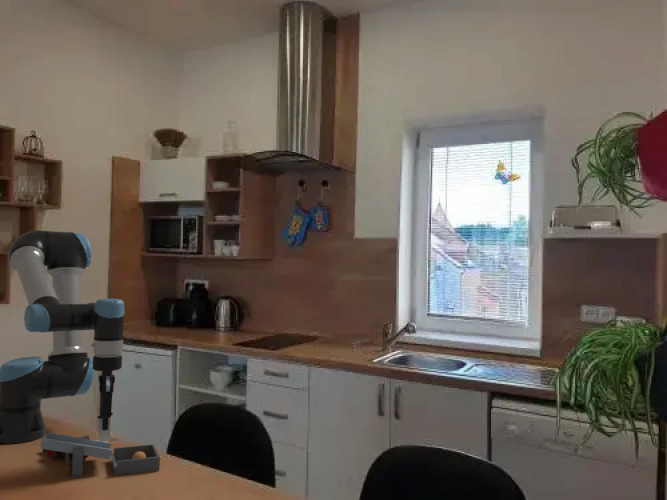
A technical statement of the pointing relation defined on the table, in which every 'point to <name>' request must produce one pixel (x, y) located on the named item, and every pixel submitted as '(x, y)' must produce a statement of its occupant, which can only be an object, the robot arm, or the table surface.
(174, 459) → the table surface
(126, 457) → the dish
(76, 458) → the stand
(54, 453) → the toy
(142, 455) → the ball
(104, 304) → the robot arm
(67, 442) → the rimmed blue-grey trough
